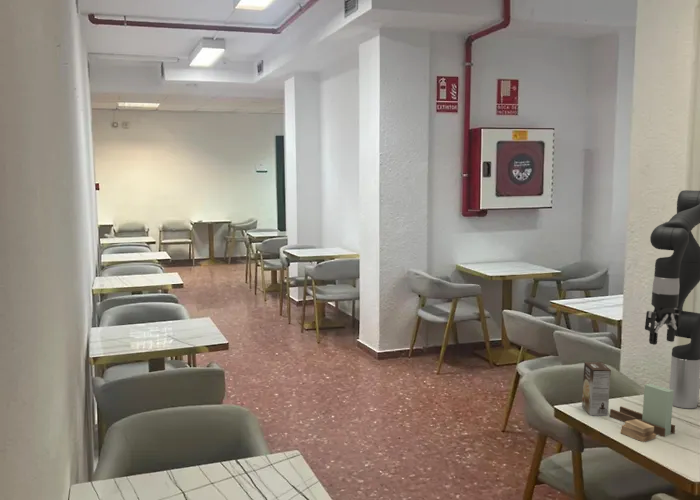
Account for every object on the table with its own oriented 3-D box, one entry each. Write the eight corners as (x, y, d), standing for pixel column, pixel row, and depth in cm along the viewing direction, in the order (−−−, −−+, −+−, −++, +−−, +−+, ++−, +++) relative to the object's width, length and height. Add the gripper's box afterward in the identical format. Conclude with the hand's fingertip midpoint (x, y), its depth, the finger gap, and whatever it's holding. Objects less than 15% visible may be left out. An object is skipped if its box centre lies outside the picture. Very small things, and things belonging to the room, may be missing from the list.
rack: (620, 413, 226) (621, 406, 225) (674, 433, 209) (675, 425, 209) (609, 416, 223) (610, 409, 222) (663, 436, 206) (663, 429, 206)
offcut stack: (632, 429, 212) (633, 417, 211) (655, 438, 205) (656, 426, 204) (619, 433, 209) (620, 421, 208) (643, 442, 202) (643, 430, 201)
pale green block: (647, 425, 215) (650, 383, 214) (670, 433, 209) (673, 390, 207) (641, 426, 214) (644, 384, 212) (664, 435, 207) (667, 392, 205)
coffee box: (580, 406, 232) (583, 361, 230) (599, 406, 232) (602, 361, 230) (589, 415, 223) (592, 369, 221) (609, 416, 223) (611, 369, 221)
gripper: (668, 288, 213) (665, 337, 215) (640, 291, 206) (636, 342, 208) (690, 292, 207) (686, 343, 209) (662, 295, 200) (658, 347, 201)
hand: (661, 342), depth 208 cm, fingers open, 8 cm apart
